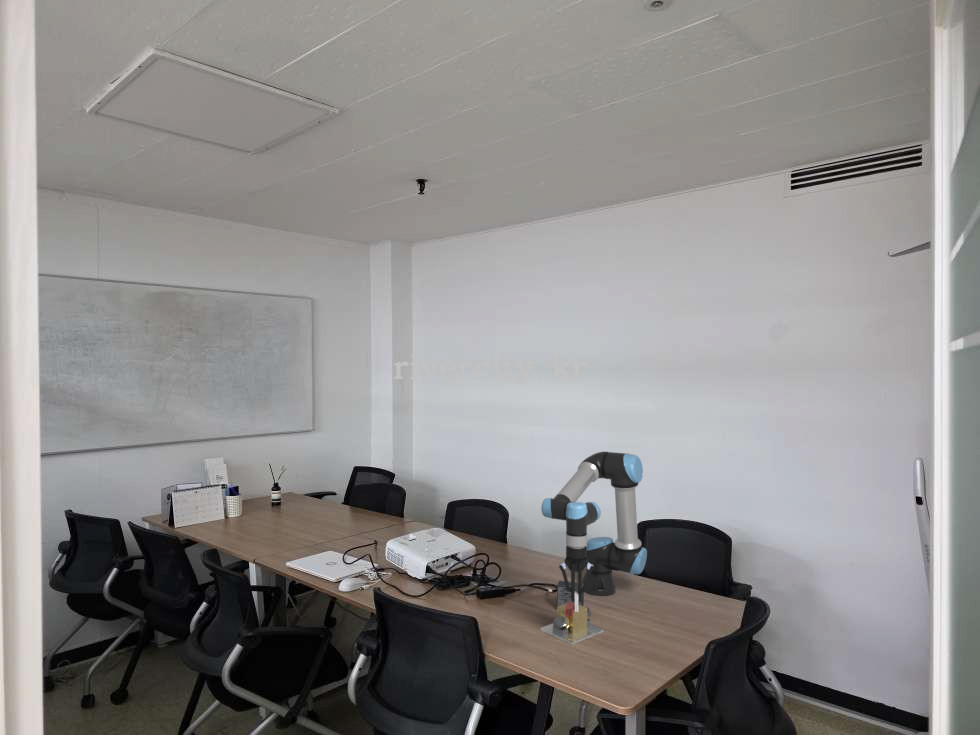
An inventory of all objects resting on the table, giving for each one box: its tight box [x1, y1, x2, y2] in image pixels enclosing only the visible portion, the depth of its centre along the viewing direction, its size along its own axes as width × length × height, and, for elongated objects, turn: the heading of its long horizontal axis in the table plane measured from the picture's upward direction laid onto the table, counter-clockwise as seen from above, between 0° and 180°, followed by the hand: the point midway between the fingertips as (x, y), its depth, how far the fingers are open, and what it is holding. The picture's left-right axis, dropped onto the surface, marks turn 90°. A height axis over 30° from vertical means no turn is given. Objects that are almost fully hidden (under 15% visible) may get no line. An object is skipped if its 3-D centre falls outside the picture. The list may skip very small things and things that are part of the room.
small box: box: [556, 580, 585, 607], centre depth 259 cm, size 11×6×10 cm, turn 74°
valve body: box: [539, 604, 605, 646], centre depth 237 cm, size 18×16×10 cm
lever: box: [565, 594, 574, 617], centre depth 232 cm, size 15×4×3 cm, turn 167°
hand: (576, 610), depth 228 cm, fingers closed
